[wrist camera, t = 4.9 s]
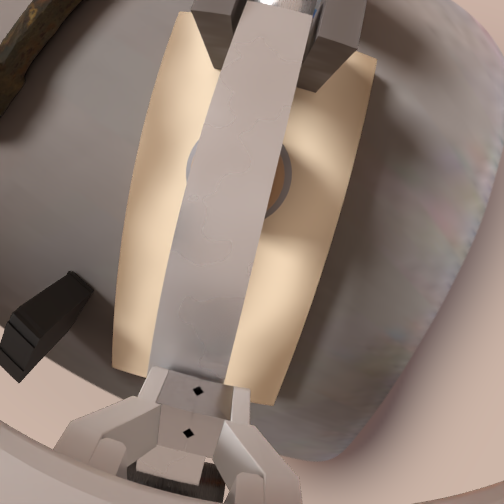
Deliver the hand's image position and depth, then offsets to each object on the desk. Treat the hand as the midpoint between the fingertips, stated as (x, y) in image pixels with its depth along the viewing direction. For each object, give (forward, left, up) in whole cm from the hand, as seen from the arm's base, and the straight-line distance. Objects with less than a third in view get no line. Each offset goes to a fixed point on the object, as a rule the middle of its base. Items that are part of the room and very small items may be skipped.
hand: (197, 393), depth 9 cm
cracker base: (-1, +3, -12) cm, 13 cm away
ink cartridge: (-11, -5, -12) cm, 17 cm away
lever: (-1, +3, -3) cm, 5 cm away
